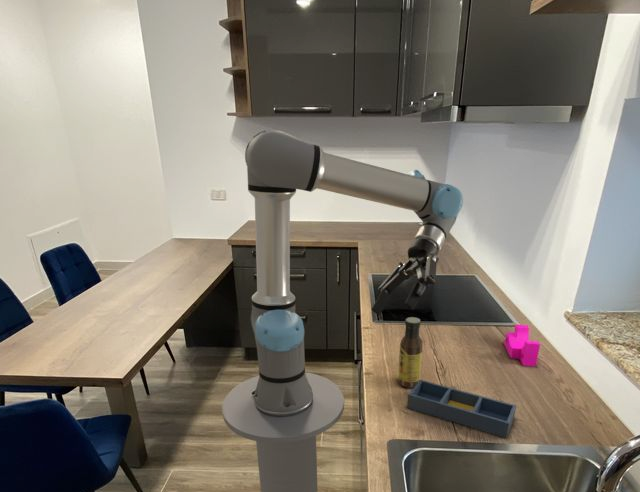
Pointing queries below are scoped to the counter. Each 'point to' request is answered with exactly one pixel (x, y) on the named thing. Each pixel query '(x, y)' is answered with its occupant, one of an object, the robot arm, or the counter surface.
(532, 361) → the toy block
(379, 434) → the counter surface
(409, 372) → the sauce bottle
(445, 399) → the compartment tray
